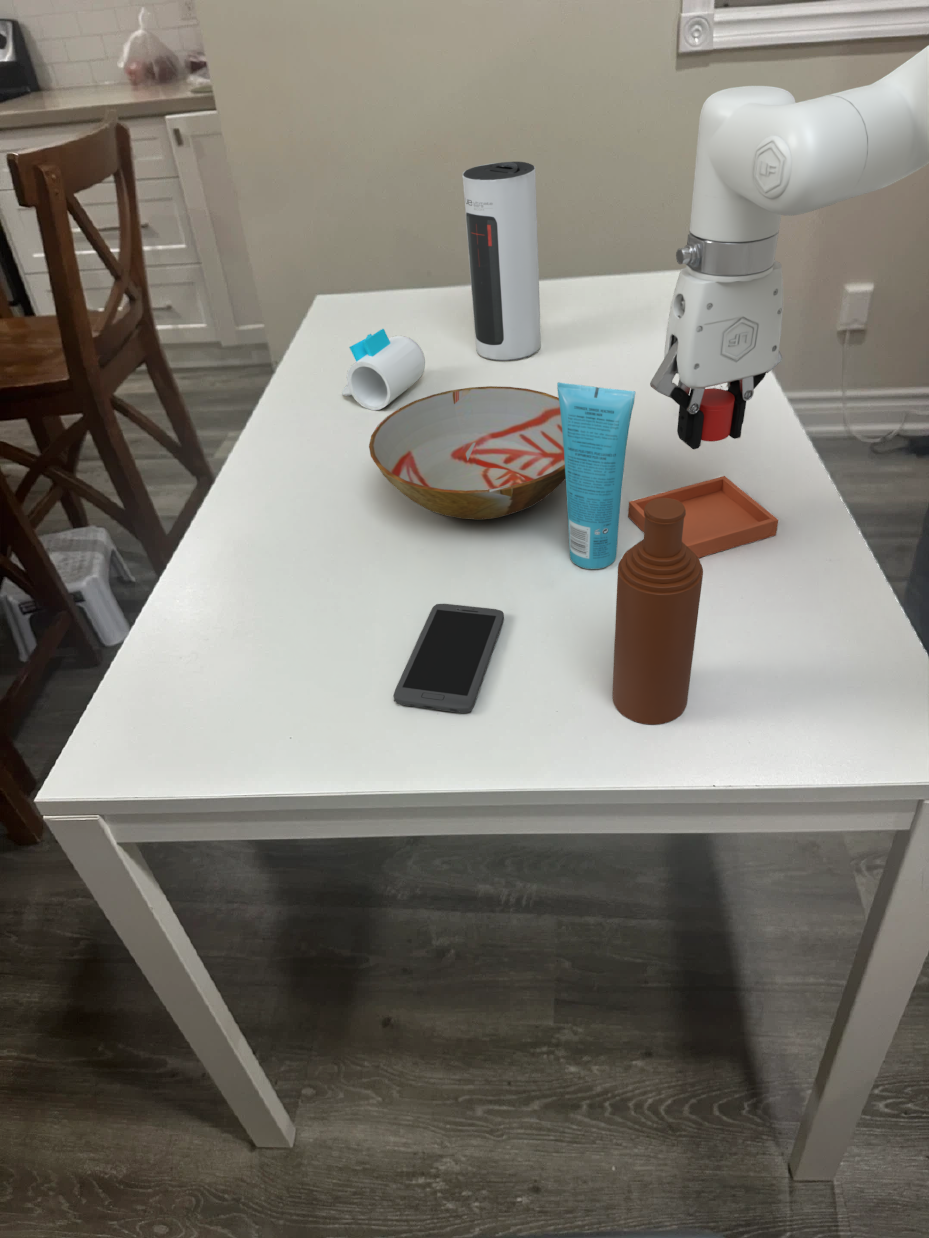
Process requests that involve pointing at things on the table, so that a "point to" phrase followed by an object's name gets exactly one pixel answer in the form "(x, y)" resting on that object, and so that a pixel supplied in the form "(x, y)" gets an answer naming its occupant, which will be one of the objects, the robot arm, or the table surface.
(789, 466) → the table surface
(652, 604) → the bottle
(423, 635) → the cell phone
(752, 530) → the tray
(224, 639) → the table surface
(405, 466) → the bowl
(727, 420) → the cap
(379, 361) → the mug
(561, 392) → the tube
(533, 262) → the speaker
